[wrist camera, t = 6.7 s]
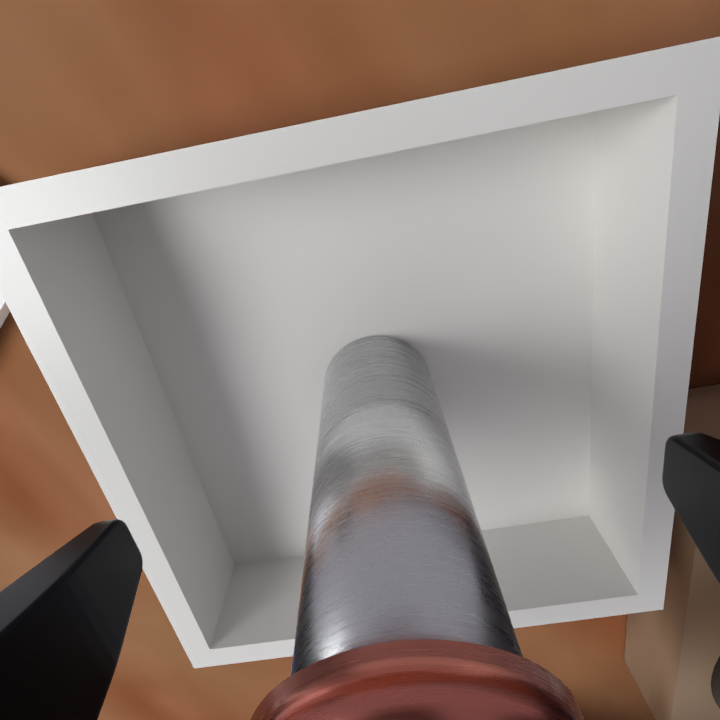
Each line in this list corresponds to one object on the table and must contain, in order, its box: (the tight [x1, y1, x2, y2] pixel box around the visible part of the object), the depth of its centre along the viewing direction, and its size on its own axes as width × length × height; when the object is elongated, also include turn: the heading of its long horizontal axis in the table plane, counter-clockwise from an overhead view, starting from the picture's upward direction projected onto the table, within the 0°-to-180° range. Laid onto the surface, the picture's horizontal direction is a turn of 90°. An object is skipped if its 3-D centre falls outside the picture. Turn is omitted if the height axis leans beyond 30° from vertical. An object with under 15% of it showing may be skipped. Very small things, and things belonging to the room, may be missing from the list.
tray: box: [0, 37, 720, 668], centre depth 10 cm, size 11×11×3 cm
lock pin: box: [251, 335, 585, 720], centre depth 8 cm, size 3×3×8 cm
